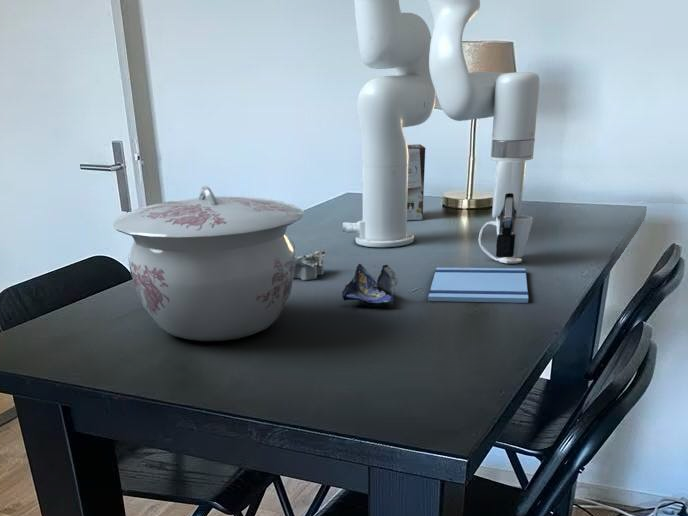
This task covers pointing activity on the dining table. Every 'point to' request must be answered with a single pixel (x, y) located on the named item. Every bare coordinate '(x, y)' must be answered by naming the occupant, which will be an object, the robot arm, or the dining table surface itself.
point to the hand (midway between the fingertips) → (504, 251)
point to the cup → (521, 237)
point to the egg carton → (309, 265)
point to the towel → (479, 285)
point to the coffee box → (415, 181)
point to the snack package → (372, 287)
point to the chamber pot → (212, 263)
